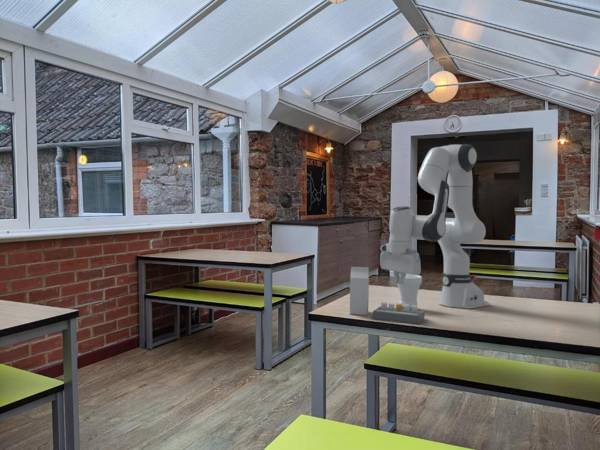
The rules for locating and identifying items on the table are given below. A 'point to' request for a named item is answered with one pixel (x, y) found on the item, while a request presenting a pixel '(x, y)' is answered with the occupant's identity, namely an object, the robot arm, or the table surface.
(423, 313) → the switch box
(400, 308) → the rocker switch
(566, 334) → the table surface
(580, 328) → the table surface
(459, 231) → the robot arm
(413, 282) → the cup
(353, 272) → the milk carton
